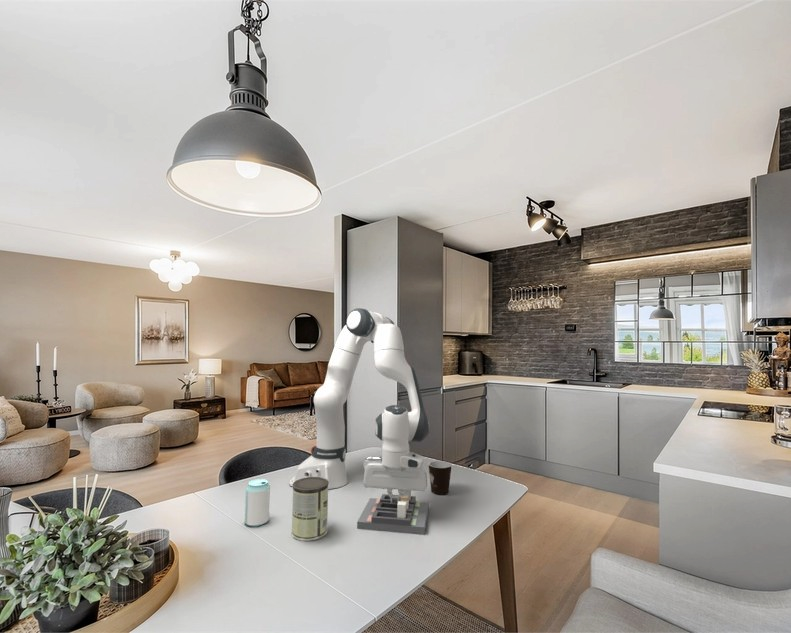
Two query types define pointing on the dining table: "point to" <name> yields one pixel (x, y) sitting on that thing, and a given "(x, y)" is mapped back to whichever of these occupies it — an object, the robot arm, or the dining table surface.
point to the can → (257, 502)
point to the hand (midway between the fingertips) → (395, 502)
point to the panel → (393, 516)
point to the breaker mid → (405, 499)
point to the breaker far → (408, 493)
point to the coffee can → (310, 508)
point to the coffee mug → (439, 477)
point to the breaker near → (401, 509)
